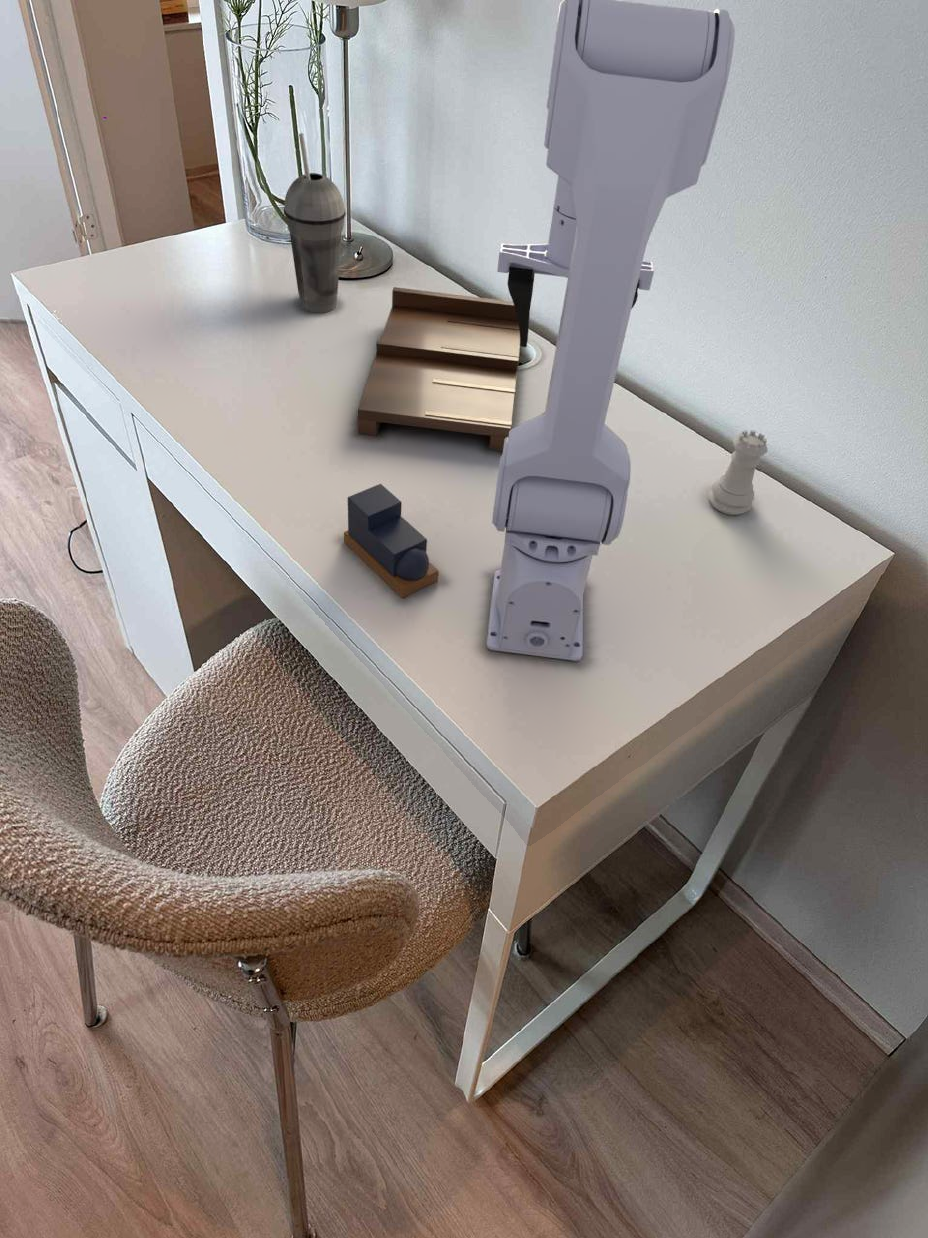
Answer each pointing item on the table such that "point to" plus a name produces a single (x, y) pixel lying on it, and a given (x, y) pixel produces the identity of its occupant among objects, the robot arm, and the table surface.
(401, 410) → the shoe shelf
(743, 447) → the rook chess piece
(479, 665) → the table surface
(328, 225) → the beverage cup
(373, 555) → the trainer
